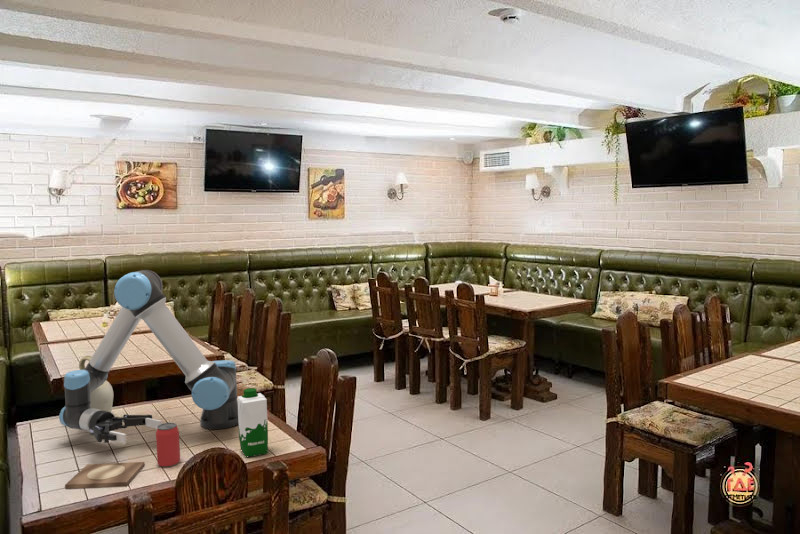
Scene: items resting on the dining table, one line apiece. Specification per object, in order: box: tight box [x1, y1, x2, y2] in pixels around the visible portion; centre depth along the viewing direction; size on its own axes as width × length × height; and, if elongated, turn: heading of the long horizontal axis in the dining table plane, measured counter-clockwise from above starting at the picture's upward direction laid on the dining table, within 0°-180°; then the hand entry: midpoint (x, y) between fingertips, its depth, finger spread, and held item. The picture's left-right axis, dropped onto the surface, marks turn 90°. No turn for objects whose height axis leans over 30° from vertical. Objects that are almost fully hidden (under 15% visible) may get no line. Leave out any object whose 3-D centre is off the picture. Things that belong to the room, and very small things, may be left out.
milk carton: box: [237, 387, 269, 458], centre depth 192 cm, size 9×9×20 cm
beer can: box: [155, 422, 181, 468], centre depth 185 cm, size 7×7×12 cm
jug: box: [78, 355, 115, 413], centre depth 226 cm, size 15×16×25 cm
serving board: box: [64, 461, 145, 490], centre depth 177 cm, size 17×14×2 cm
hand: (143, 431), depth 189 cm, fingers open, 13 cm apart
